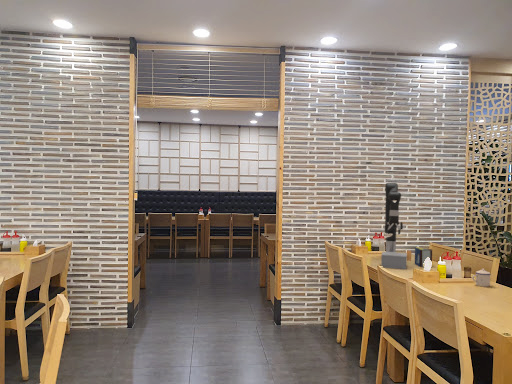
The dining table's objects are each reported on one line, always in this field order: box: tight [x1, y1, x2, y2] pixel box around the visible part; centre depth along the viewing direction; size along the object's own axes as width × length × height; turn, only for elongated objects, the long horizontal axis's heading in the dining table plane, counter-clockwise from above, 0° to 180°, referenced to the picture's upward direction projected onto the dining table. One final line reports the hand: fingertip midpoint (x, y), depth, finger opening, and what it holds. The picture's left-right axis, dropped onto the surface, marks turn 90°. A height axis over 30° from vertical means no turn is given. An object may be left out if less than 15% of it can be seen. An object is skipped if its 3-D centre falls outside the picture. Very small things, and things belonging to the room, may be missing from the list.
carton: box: [380, 255, 408, 270], centre depth 346 cm, size 18×20×10 cm
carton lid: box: [381, 250, 412, 262], centre depth 345 cm, size 18×24×8 cm
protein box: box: [414, 246, 433, 268], centre depth 353 cm, size 10×15×16 cm
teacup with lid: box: [471, 268, 491, 288], centre depth 282 cm, size 12×9×12 cm
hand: (393, 234), depth 344 cm, fingers open, 8 cm apart
